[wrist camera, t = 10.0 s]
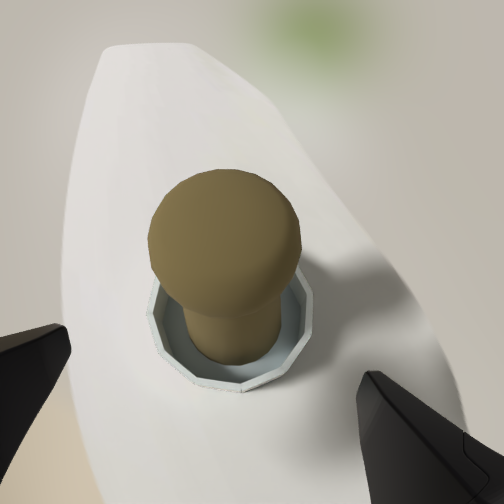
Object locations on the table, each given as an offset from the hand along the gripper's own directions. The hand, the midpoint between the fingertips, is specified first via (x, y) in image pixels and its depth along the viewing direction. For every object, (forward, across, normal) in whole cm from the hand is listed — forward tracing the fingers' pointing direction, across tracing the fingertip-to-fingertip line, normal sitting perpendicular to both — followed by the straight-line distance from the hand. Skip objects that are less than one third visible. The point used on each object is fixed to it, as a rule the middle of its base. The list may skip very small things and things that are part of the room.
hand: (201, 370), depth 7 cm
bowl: (+11, 0, +4) cm, 11 cm away
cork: (+10, 0, +4) cm, 11 cm away
